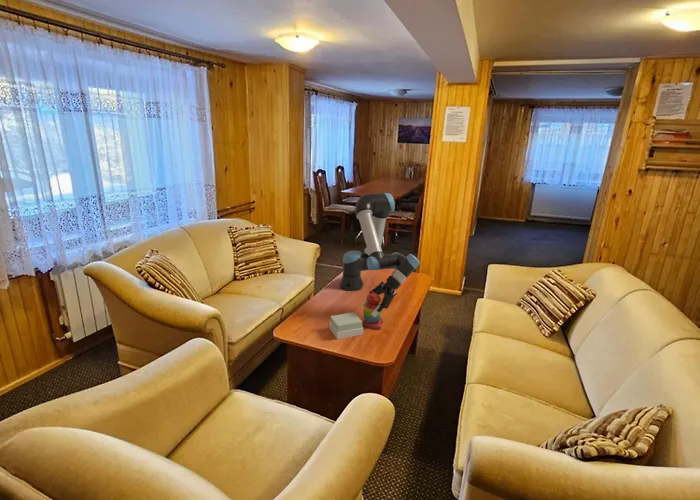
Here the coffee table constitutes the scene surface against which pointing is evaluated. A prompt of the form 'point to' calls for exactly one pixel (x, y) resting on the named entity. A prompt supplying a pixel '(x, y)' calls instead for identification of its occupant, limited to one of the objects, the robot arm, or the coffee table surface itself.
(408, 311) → the coffee table surface
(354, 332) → the tower base
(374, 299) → the stacking bear
